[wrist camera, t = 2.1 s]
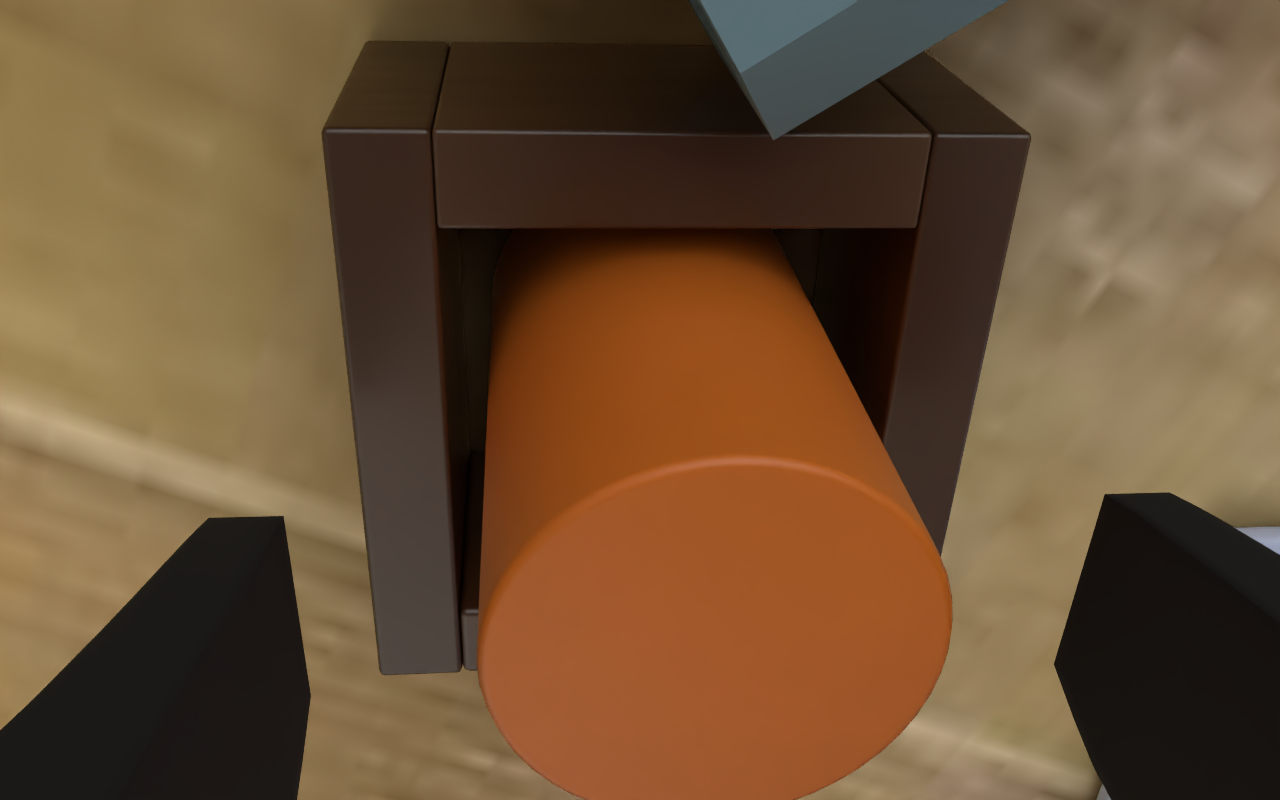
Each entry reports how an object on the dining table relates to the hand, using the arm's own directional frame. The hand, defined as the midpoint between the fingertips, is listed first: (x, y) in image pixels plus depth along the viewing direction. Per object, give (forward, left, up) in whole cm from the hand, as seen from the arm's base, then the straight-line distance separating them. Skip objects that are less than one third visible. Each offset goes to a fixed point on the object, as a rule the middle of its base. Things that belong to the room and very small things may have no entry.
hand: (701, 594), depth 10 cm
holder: (0, 0, -6) cm, 6 cm away
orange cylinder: (0, 0, -6) cm, 6 cm away
